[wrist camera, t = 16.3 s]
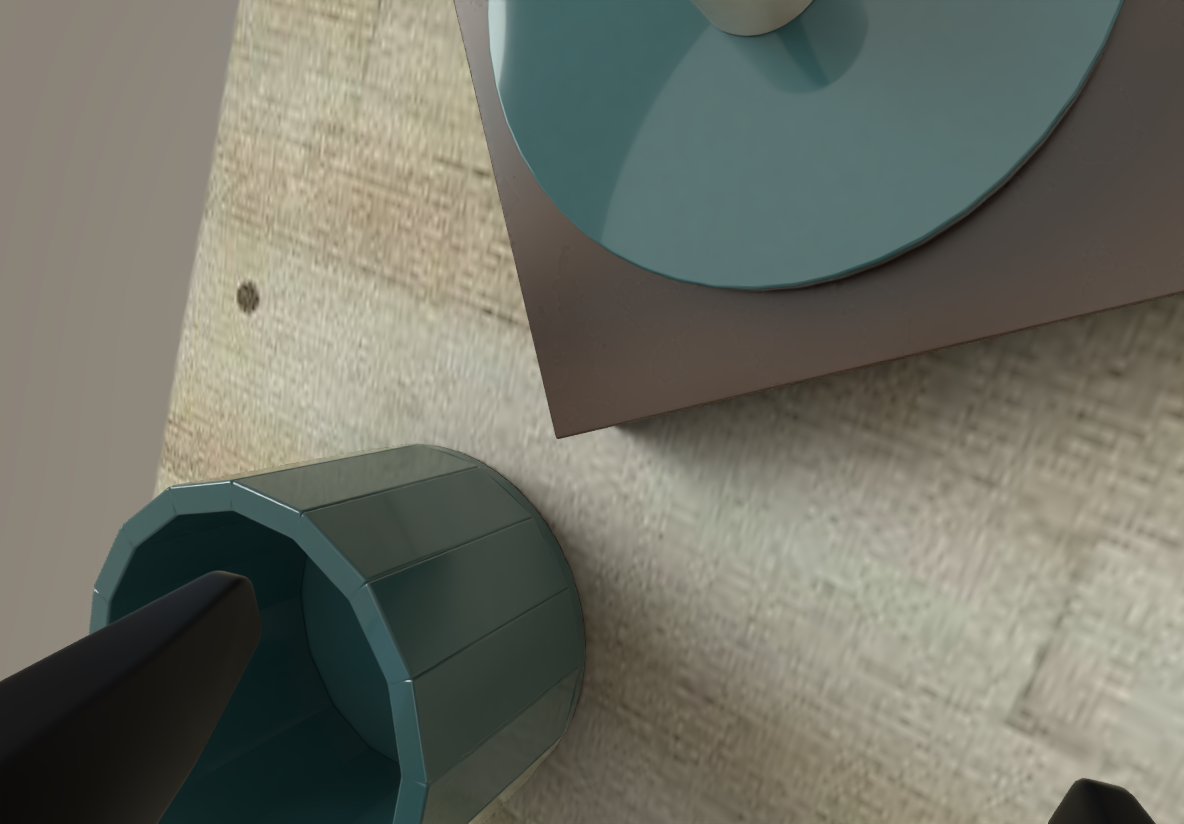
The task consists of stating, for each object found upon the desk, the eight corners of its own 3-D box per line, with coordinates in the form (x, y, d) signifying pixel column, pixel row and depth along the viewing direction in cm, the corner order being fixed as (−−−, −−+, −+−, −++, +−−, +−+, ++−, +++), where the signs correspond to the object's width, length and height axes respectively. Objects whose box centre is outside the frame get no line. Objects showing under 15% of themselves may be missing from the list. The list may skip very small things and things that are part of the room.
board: (1283, 269, 15) (1345, 254, 12) (611, 426, 21) (555, 440, 19) (1086, -512, 15) (1104, -694, 12) (481, -127, 22) (407, -192, 19)
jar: (658, 620, 21) (515, 741, 15) (464, 861, 25) (283, 1040, 18) (393, 371, 24) (183, 384, 18) (255, 617, 28) (41, 699, 22)
